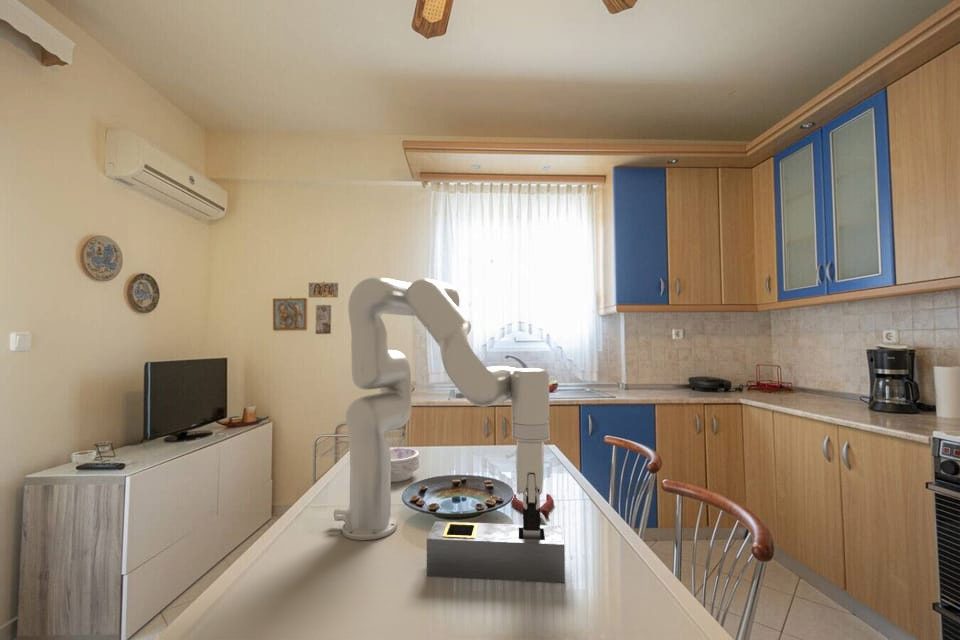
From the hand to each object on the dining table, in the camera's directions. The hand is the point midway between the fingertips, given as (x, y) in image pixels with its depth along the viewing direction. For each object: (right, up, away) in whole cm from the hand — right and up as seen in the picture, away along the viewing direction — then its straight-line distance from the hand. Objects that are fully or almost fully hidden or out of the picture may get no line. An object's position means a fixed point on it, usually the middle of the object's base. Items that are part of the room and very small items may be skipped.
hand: (531, 524), depth 85 cm
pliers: (+3, -11, +28) cm, 30 cm away
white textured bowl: (-38, -12, +57) cm, 69 cm away
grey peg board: (-7, -9, 0) cm, 11 cm away
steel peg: (0, -7, 0) cm, 7 cm away
